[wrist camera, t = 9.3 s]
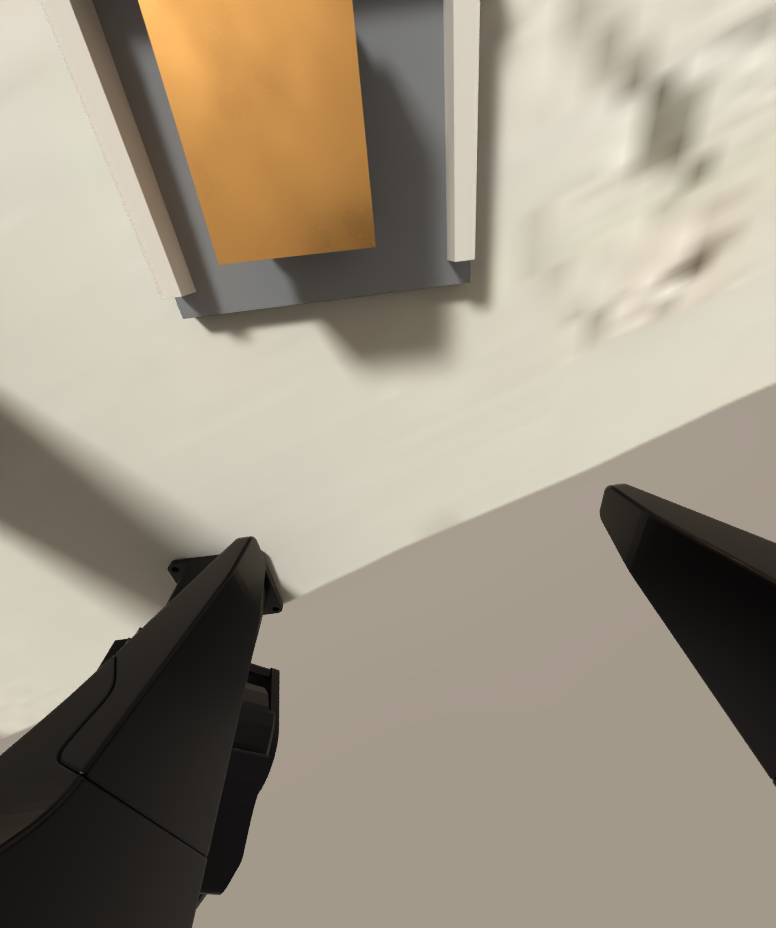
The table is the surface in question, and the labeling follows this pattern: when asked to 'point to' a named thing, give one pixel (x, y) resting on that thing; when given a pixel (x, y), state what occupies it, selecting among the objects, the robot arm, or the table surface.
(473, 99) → the dock
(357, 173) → the trolley
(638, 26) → the table surface
